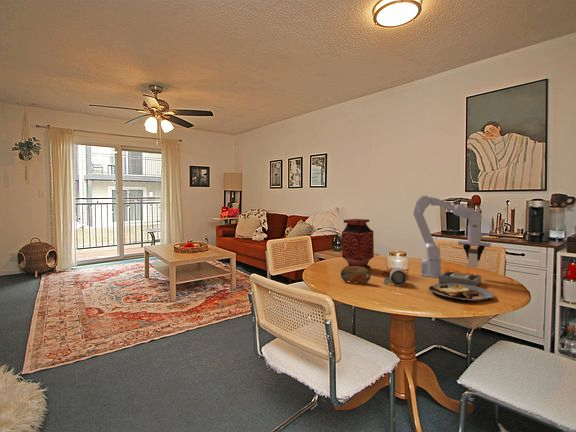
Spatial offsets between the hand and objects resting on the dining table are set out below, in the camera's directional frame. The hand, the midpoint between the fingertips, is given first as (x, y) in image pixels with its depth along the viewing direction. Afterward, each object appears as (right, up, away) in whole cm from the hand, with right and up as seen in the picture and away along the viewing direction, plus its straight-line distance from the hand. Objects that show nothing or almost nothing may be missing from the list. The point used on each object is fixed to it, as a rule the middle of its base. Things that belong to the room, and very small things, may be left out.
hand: (473, 259), depth 165 cm
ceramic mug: (-43, -12, -6) cm, 45 cm away
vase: (-54, -10, +27) cm, 62 cm away
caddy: (-11, -11, -7) cm, 17 cm away
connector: (0, -4, 0) cm, 3 cm away
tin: (-62, -12, -2) cm, 63 cm away
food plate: (-21, -12, -25) cm, 35 cm away
